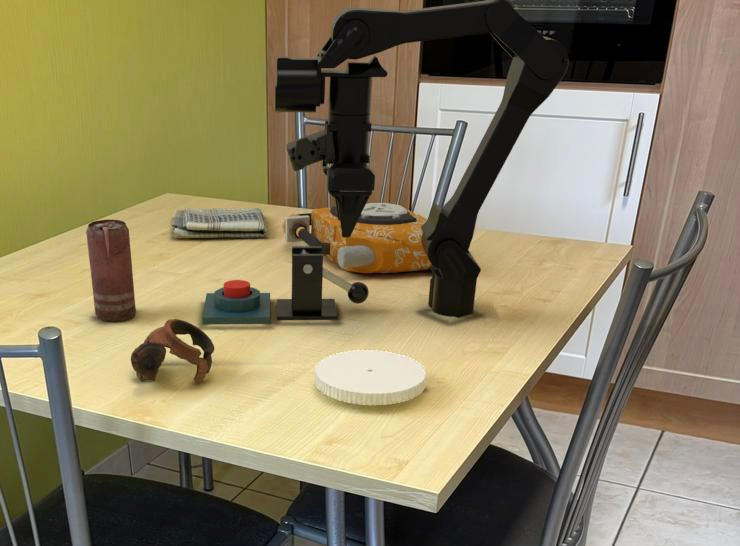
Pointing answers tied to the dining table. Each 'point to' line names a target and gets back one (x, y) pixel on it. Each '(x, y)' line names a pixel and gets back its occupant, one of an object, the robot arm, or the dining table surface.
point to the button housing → (236, 308)
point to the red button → (236, 289)
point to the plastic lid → (370, 377)
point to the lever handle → (347, 286)
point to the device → (365, 238)
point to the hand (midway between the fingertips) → (343, 228)
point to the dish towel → (219, 223)
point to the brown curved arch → (172, 350)
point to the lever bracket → (307, 288)
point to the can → (111, 270)
